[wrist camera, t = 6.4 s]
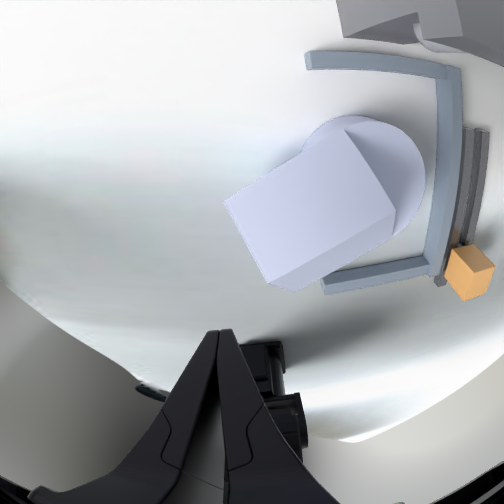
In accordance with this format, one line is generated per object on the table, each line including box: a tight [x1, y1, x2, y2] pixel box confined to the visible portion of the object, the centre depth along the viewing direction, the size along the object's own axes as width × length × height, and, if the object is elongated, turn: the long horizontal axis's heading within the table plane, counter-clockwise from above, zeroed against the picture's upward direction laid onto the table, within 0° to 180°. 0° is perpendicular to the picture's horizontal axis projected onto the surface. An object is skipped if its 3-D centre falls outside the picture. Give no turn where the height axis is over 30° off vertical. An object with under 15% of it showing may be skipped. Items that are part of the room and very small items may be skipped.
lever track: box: [434, 127, 490, 287], centre depth 21 cm, size 17×4×1 cm, turn 9°
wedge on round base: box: [223, 115, 426, 292], centre depth 17 cm, size 9×7×13 cm
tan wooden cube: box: [444, 243, 496, 301], centre depth 21 cm, size 4×4×5 cm
